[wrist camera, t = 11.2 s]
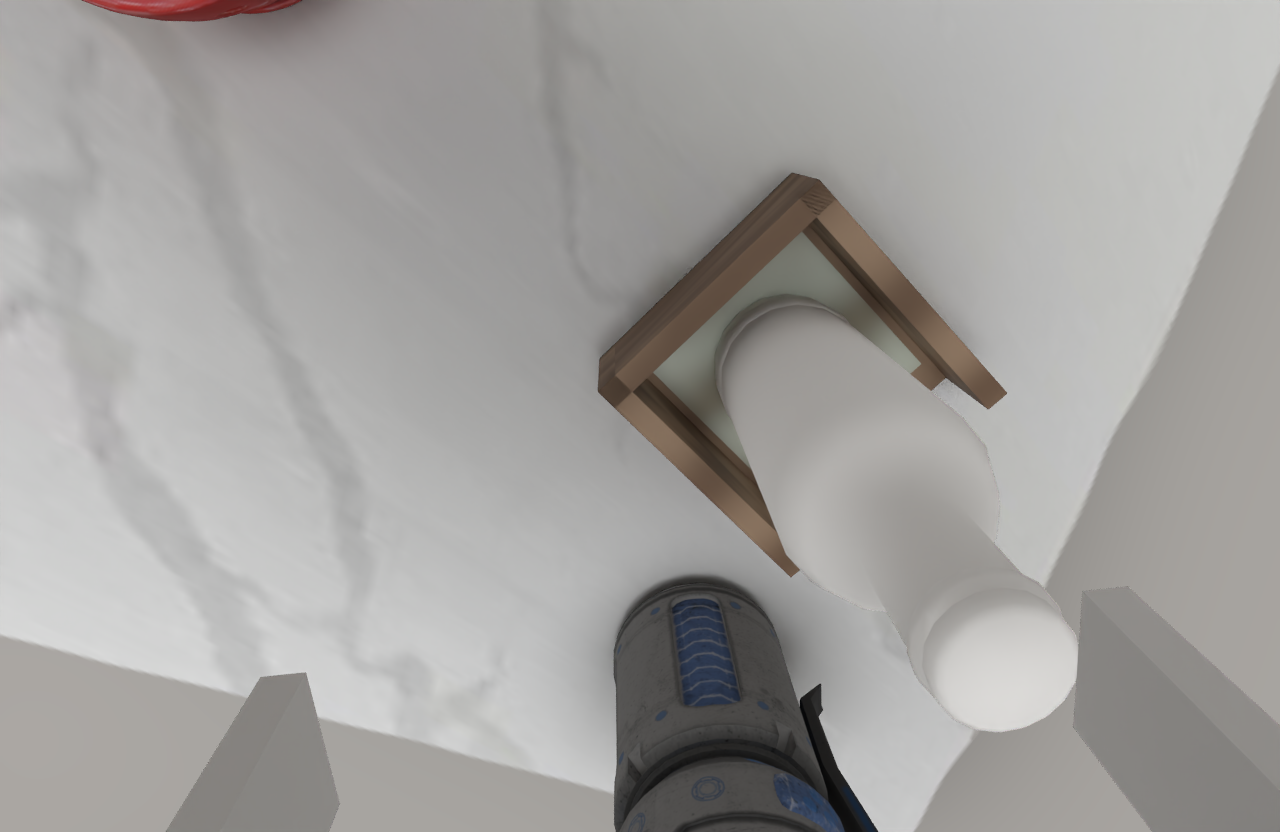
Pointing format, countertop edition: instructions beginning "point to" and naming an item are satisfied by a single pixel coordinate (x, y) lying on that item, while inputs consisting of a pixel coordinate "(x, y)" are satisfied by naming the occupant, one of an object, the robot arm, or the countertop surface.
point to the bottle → (892, 509)
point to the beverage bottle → (719, 725)
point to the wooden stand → (738, 277)
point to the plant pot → (190, 8)
